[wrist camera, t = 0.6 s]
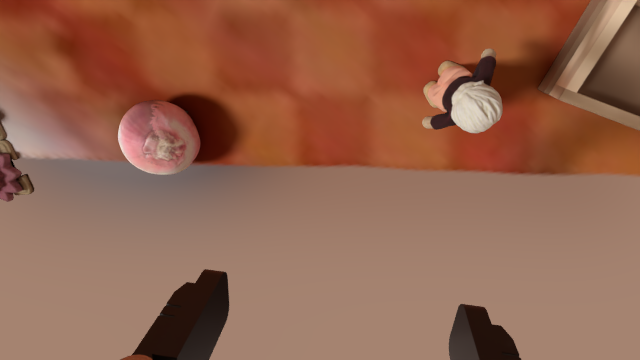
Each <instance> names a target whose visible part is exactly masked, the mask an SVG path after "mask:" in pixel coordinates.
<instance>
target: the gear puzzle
mask: <svg viewBox="0 0 640 360" xmlns="http://www.w3.org/2000/svg"><path fill="white" fill-rule="evenodd" d="M5 138H6V133H5V131H4V129H3V127H2V126H1V124H0V199H3V200H5V201H7V202H8V201H11V200H13V198H14V197H13V193H14V194H15V195H23V194H31V193H32V192H34V186H33V184H32V182H31V180H30V177H29V175H28V174H24V175H22V176H21V174H22V173H21V171H19V170H18V169H16V167H15V165H14V163H13V161H12V159H13V160H17V159H19V158H20V157H17V156H16V153H15V151H14V149H13V147H12V146H11V144H10V143H9V142H8V141H7V140H5Z"/></svg>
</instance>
